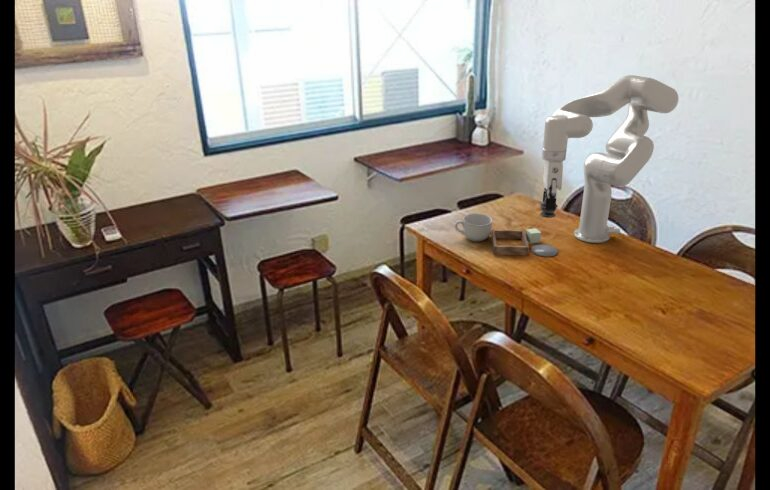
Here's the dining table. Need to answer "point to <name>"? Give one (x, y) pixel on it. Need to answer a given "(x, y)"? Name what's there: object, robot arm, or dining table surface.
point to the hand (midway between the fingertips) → (548, 205)
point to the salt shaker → (547, 212)
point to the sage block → (533, 235)
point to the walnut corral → (510, 249)
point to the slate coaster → (544, 250)
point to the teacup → (475, 226)
